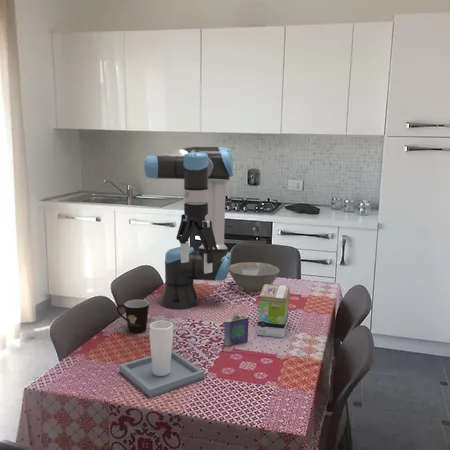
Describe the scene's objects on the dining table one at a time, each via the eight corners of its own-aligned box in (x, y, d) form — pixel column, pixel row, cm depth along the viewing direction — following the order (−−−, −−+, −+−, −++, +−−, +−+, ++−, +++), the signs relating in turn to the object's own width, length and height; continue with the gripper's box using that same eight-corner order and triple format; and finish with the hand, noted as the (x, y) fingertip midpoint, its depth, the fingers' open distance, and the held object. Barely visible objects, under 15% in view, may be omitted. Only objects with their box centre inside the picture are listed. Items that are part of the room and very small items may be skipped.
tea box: (285, 338, 175) (286, 297, 173) (256, 335, 177) (257, 295, 175) (288, 322, 190) (289, 285, 187) (262, 320, 192) (263, 283, 189)
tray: (119, 372, 149) (119, 364, 149) (171, 356, 160) (171, 349, 159) (149, 398, 135) (149, 389, 135) (204, 378, 146) (204, 371, 145)
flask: (226, 347, 167) (226, 317, 165) (221, 344, 170) (222, 314, 168) (249, 342, 172) (250, 312, 170) (244, 339, 174) (245, 309, 172)
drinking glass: (163, 380, 143) (163, 331, 140) (144, 374, 146) (144, 325, 143) (177, 371, 149) (177, 323, 146) (159, 365, 152) (159, 318, 149)
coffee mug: (154, 330, 181) (154, 303, 179) (134, 336, 175) (134, 309, 173) (134, 321, 188) (134, 296, 187) (115, 327, 182) (114, 301, 180)
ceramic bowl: (280, 298, 217) (281, 275, 215) (227, 297, 218) (228, 274, 216) (276, 282, 239) (277, 262, 237) (228, 281, 239) (228, 261, 237)
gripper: (165, 197, 165) (166, 259, 170) (209, 210, 146) (208, 279, 150) (185, 195, 169) (185, 256, 174) (229, 207, 150) (228, 275, 155)
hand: (196, 267), depth 162 cm, fingers open, 13 cm apart
